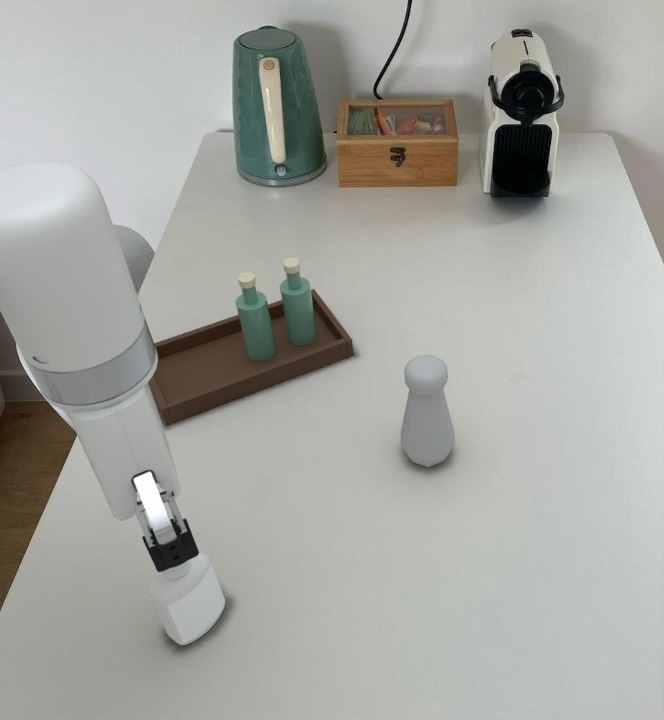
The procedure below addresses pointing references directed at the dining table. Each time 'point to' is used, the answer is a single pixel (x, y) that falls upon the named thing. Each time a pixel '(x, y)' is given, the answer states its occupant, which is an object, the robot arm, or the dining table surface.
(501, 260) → the dining table surface
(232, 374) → the tray
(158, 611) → the white plastic bottle
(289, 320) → the green bottle
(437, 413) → the salt shaker
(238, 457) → the dining table surface
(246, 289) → the green bottle
